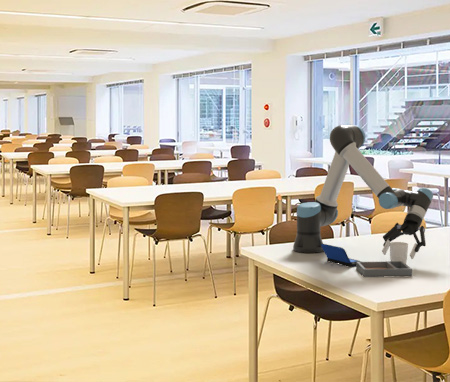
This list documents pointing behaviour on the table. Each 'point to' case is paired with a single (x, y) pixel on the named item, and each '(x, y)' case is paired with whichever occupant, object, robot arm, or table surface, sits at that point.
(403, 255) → the white cup
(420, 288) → the table surface
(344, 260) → the handheld game console
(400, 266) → the walled box
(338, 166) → the robot arm
